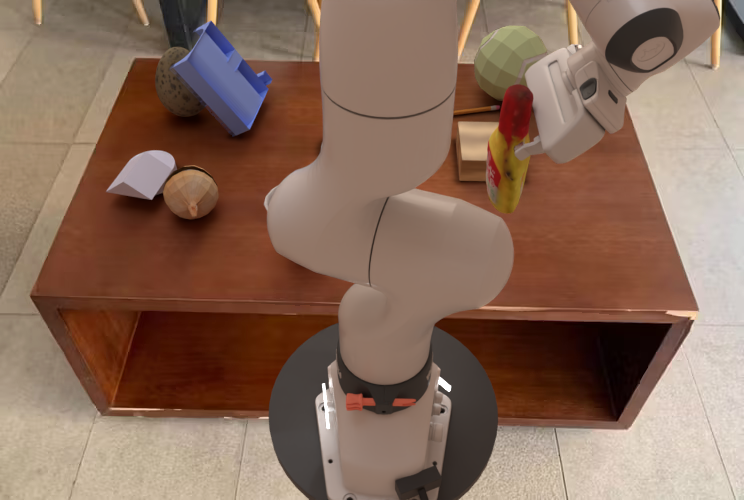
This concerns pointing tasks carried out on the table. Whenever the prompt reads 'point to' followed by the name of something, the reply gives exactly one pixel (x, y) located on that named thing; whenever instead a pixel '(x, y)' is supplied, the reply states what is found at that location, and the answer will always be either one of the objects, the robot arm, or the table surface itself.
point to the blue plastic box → (223, 79)
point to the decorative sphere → (506, 58)
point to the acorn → (190, 192)
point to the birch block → (473, 149)
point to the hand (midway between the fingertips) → (512, 135)
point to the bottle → (509, 150)
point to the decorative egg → (176, 86)
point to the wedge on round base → (144, 175)
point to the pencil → (476, 110)
